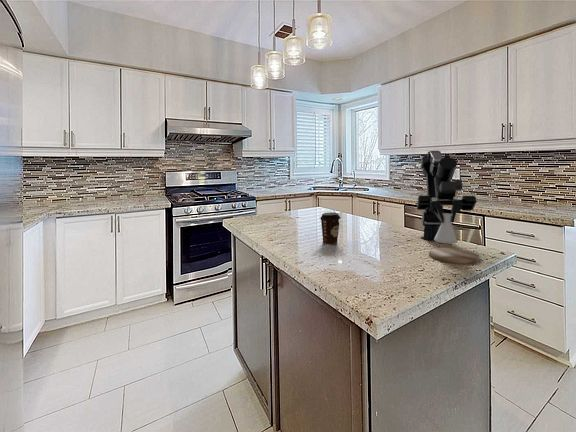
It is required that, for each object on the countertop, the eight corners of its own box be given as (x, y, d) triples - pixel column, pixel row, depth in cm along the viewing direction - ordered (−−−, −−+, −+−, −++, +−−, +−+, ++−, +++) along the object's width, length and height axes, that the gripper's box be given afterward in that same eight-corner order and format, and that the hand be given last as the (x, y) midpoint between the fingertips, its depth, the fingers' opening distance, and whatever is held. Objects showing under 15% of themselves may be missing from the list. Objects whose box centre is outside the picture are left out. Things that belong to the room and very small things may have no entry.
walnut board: (447, 248, 123) (447, 245, 123) (489, 259, 109) (489, 255, 109) (419, 255, 116) (419, 251, 116) (460, 267, 102) (460, 263, 102)
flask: (461, 243, 108) (463, 214, 107) (442, 244, 107) (443, 215, 106) (448, 238, 115) (450, 211, 114) (430, 239, 115) (431, 212, 113)
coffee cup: (342, 241, 138) (342, 212, 136) (338, 246, 131) (338, 215, 128) (322, 240, 141) (322, 211, 139) (318, 244, 133) (318, 214, 131)
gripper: (419, 173, 114) (421, 208, 105) (477, 172, 108) (484, 209, 100) (415, 192, 122) (417, 226, 114) (469, 192, 117) (475, 227, 109)
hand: (447, 222), depth 109 cm, fingers closed on flask, 3 cm apart
